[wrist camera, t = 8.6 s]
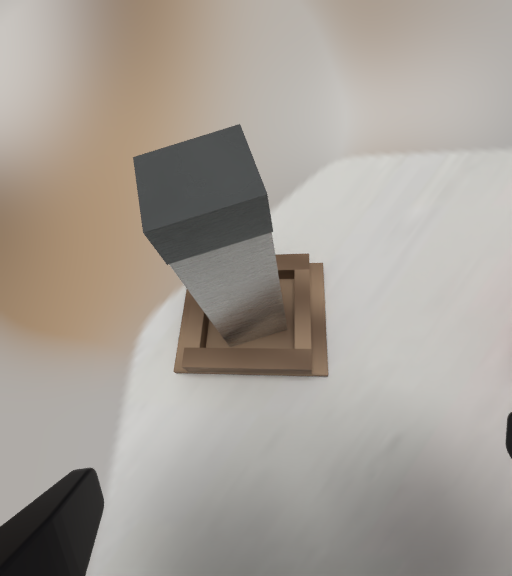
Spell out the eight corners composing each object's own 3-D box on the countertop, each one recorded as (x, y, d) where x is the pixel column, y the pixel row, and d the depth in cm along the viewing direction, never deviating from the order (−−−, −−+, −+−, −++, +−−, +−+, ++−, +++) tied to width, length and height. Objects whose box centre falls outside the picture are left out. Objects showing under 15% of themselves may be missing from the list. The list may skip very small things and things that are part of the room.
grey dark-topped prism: (288, 330, 22) (267, 194, 10) (229, 348, 22) (143, 232, 10) (272, 284, 24) (239, 124, 12) (218, 301, 24) (133, 157, 12)
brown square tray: (327, 376, 21) (329, 370, 19) (176, 372, 22) (166, 366, 21) (322, 266, 24) (323, 253, 23) (192, 269, 26) (184, 257, 24)
